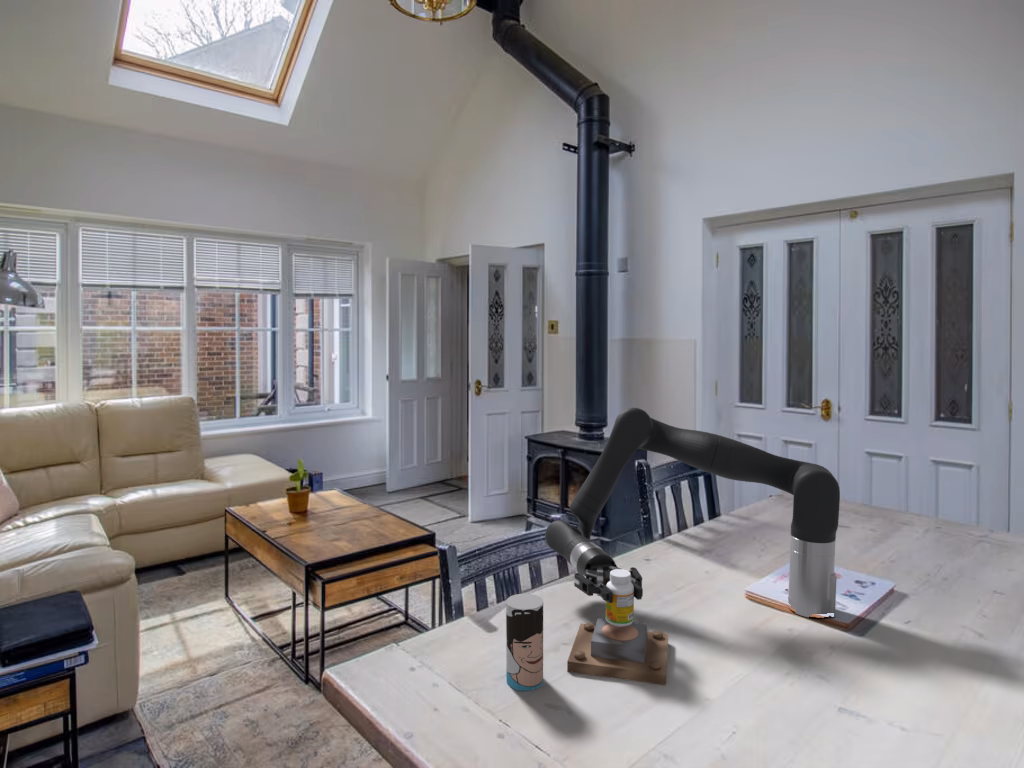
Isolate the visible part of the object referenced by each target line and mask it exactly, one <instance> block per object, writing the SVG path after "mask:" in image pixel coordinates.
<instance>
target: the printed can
mask: <svg viewBox="0 0 1024 768" xmlns="http://www.w3.org/2000/svg"><path fill="white" fill-rule="evenodd" d="M505 603H506V604H505V608H506V610H505V618H506V619H505V624H506V626H505V627H506V628H505V629H506V630H505V631H506V632H505V637H506V638H505V639H506V647H505V648H506V649H505V653H506V657H505V658H506V664H505V665H506V667H505V669H506V672H505V673H506V675H505V676H506V679H505V680H506V684H507V685H508V686H509V687H510V688H512V689H513V690H516V691H521V692H525V691H526V692H528V691H534V690H537V689H539V688H541V686H542V685H543V683H544V599H543V598H542V597H541V596H539V595H536V594H531V593H518V594H513V595H511V596H508V598H507V599H506V601H505Z"/></svg>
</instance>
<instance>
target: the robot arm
mask: <svg viewBox="0 0 1024 768" xmlns="http://www.w3.org/2000/svg"><path fill="white" fill-rule="evenodd" d="M637 450H643V451H648V452H651V453H656V454H660V455H664V456H666V457H670V458H673V459H675V460H677V461H679V462H680V463H681V462H682V463H684V464H686V465H688V466H690V467H692V468H696V469H698V470H701V471H703V472H706V473H709V474H712V475H715V476H718V477H721V478H724V479H727V480H732V481H738V482H747V483H757V484H761V485H762V484H763V485H766V486H769V487H773V488H775V489H779V490H781V491H784V492H785V493H788V494H790V495H792V496H793V502H792V506H793V507H792V519H791V520H792V521H791V524H790V545H789V546H790V547H789V569H788V571H789V573H788V595H787V599H788V600H787V601H788V602H787V603H789V604H790V605H791V607H793V609H795V610H796V612H797V613H795V614H796V615H799V616H801V617H805V618H809V616H810V615H811V616H812V614H827V613H835V614H836V602H837V575H836V573H835V561H836V559H835V557H836V538H837V531H838V528H839V517H840V504H841V502H840V501H841V500H840V499H841V491H840V486H839V482H838V480H837V479H836V478H835V476H834V475H833V473H832V471H830V470H828V468H826V467H825V466H822V465H820V464H818V463H812V462H807V461H802V460H796V459H792V458H787V457H783V456H779V455H776V454H772V453H770V452H767V451H765V450H763V449H760V448H758V447H755V446H752V445H749V444H747V443H745V442H741V441H738V440H735V439H733V438H730V437H726V436H723V435H719V434H716V433H713V432H712V433H711V432H708V431H702V430H694V429H688V428H687V429H686V428H680V427H676V426H674V425H673V426H672V425H669V424H667V423H664V422H663V421H660V420H657V419H655V418H652V417H651V416H650V415H649V414H648V413H647V412H646V410H643V409H641V408H639V407H629V408H625V409H623V410H622V411H621V412H620V413H619V414H618V415H617V416H616V418H615V420H614V425H613V427H612V430H611V432H610V435H609V437H608V440H607V442H606V444H605V446H604V448H603V450H602V452H601V454H600V455H599V457H598V459H597V461H596V462H595V464H594V466H593V468H592V469H591V470H590V472H589V474H588V475H587V477H586V478H585V480H584V482H583V483H582V484H581V487H580V488H579V490H578V491H577V493H576V495H575V496H574V498H573V500H572V501H571V503H570V504H569V510H570V513H571V514H572V515H573V516H575V517H576V518H577V519H578V523H577V524H578V526H577V527H575V526H574V525H572V524H570V523H569V522H567V521H564V520H562V519H558V520H557V519H556V520H554V521H552V522H551V523H549V525H548V526H547V527H546V530H545V533H544V540H545V543H546V545H547V546H548V547H549V548H550V549H551V550H552V551H554V552H555V553H557V555H559V556H561V557H562V558H564V559H565V560H566V561H567V562H568V564H569V565H570V566H571V567H572V568H573V570H574V572H575V573H574V574H573V575H574V576H573V578H574V579H573V581H574V583H573V586H574V587H575V588H577V589H578V590H579V591H581V592H583V594H585V595H587V596H588V597H592V596H594V594H596V596H598V597H600V598H601V599H602V600H603V601H605V602H606V601H607V602H608V603H612V602H613V593H612V591H611V590H610V589H609V588H608V587H607V586H606V585H607V583H608V582H609V581H611V580H610V572H611V571H612V570H614V569H622V568H620V567H618V566H617V564H616V562H615V560H614V559H613V557H612V556H610V555H609V554H608V553H607V552H606V551H605V550H603V548H601V547H600V546H598V545H597V544H596V543H593V542H592V540H591V538H592V534H593V529H594V527H595V524H596V520H597V518H598V516H599V515H600V514H601V511H602V510H603V509H604V507H605V505H606V503H607V501H608V500H609V498H610V496H611V494H612V492H613V491H614V489H615V486H616V484H617V482H618V480H619V477H620V475H621V474H622V472H623V470H624V468H625V467H626V465H627V463H628V462H629V460H630V459H631V457H632V456H633V455H634V454H635V453H636V451H637ZM628 571H629V572H630V573H631V580H630V582H631V583H632V584H633V586H634V598H635V599H636V600H642V598H643V594H644V592H643V591H644V590H643V577H642V575H641V574H640V573H641V572H639V571H638V568H636V567H630V568H629V570H628Z"/></svg>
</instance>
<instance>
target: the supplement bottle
mask: <svg viewBox="0 0 1024 768" xmlns="http://www.w3.org/2000/svg"><path fill="white" fill-rule="evenodd" d="M610 580H611V581H609V582H608V583H607V585H606V586H607V587H608V588H609V589H610V590H611V591H612V593H613V602H612V603H608V602H607V601H605V619H606V621H607V622H608V623H610V624H611V625H614V626H628V625H630V624H632V622H634V613H635V612H634V607H635V606H634V605H635V601H634V600H635V599H634V598H635V597H634V586H633V584H632V583H631V582H630V580H631V573H630V572H629V570H627V569H622V568H621V569H614V570H612V571H611V572H610Z"/></svg>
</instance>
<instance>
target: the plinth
mask: <svg viewBox="0 0 1024 768" xmlns="http://www.w3.org/2000/svg"><path fill="white" fill-rule="evenodd" d="M648 628H649V627H648V623H642V622H636V621H633V622H632V624H630V625H628V626H614V625H611V624H610V623H608V622H607V621H606V618H602V617H601V618H600V617H598V618H597V619H596V623H595V624H593V623H592V622H586V623H580V624H579V627H578V630H577V632H576V636H575V639H574V642H573V643H572V646H571V647H572V648H571V650H570V652H569V656H568V658H567V662H566V663H567V664H566V665H567V666H566V667H567V669H566V670H567V672H568V673H575V674H583V675H590V676H596V677H598V676H599V677H604V678H610V679H617V680H618V679H619V680H626V681H632V682H633V681H634V682H641V683H648V684H653V685H654V684H655V685H662V686H666V685H667V670H668V668H667V667H668V666H667V665H668V649H669V648H668V647H669V633H666V632H662V631H659V630H654V631H648Z"/></svg>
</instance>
